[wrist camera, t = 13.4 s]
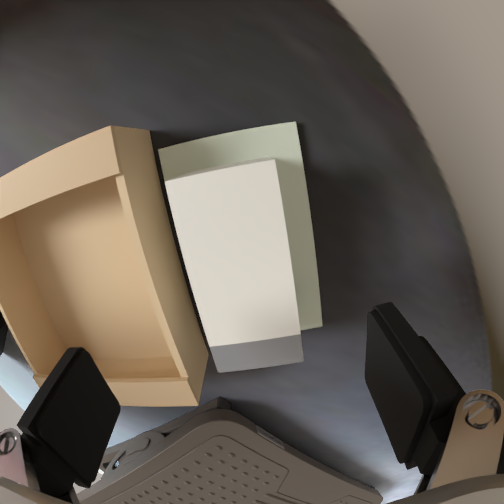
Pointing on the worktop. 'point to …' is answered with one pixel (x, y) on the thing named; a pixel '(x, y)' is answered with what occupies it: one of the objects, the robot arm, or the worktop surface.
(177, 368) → the carton
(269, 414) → the worktop surface
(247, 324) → the capped box
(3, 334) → the tissue box
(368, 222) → the worktop surface
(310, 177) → the worktop surface
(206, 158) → the mat
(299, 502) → the foot rest
